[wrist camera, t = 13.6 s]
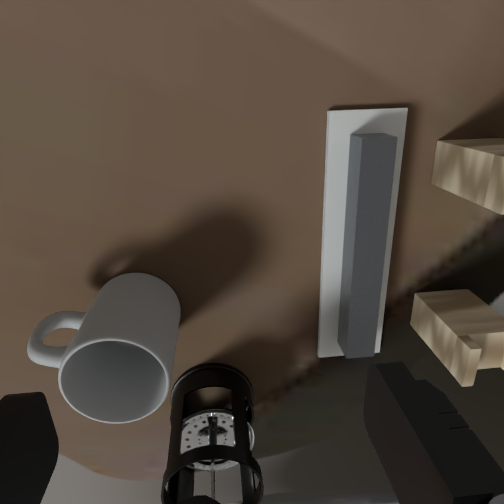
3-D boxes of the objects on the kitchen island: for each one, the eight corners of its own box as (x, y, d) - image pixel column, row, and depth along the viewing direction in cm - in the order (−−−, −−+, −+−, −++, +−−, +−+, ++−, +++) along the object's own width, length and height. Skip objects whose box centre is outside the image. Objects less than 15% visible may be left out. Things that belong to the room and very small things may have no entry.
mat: (327, 110, 35) (329, 111, 34) (404, 107, 35) (407, 107, 35) (317, 354, 45) (318, 357, 44) (377, 349, 45) (379, 352, 45)
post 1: (437, 140, 37) (513, 159, 27) (498, 137, 37) (593, 155, 28) (431, 183, 38) (501, 214, 29) (490, 180, 39) (577, 209, 29)
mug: (186, 278, 40) (178, 344, 29) (174, 348, 43) (163, 429, 33) (60, 259, 38) (4, 323, 27) (57, 334, 41) (6, 416, 30)
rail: (350, 134, 35) (362, 138, 32) (383, 132, 35) (397, 136, 32) (337, 341, 44) (345, 358, 41) (363, 339, 44) (374, 356, 41)
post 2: (414, 293, 43) (470, 349, 34) (467, 288, 43) (537, 343, 34) (410, 324, 44) (462, 386, 35) (461, 320, 45) (525, 380, 36)
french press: (207, 344, 43) (205, 596, 22) (273, 384, 46) (326, 639, 25) (146, 413, 46) (90, 695, 25) (211, 446, 49) (211, 723, 28)
